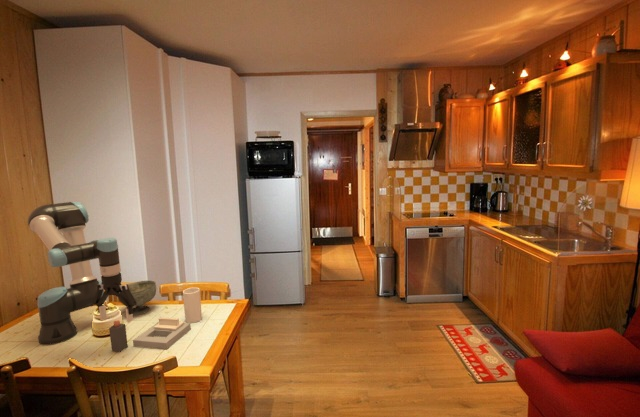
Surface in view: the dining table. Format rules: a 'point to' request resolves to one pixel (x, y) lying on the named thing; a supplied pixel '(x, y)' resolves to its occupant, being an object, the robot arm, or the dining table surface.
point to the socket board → (160, 343)
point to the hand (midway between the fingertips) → (116, 320)
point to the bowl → (142, 295)
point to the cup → (192, 305)
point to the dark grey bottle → (118, 337)
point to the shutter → (168, 323)
